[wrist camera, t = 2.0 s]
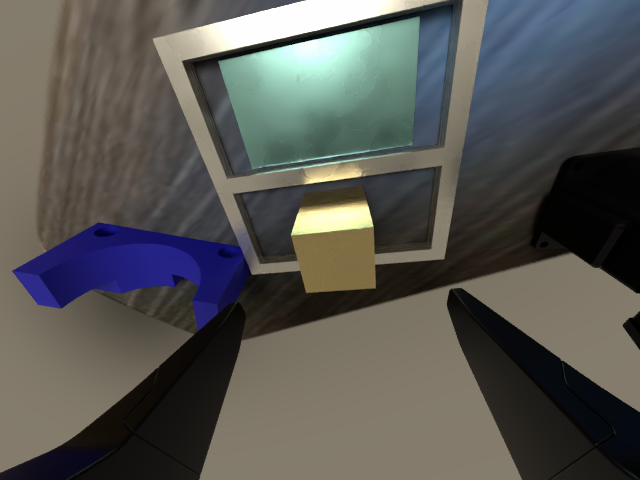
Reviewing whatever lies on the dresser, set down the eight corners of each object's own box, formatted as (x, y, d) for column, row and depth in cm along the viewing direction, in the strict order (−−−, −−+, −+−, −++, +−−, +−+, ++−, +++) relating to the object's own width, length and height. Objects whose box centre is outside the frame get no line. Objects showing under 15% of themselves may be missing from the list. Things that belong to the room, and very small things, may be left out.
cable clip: (118, 264, 21) (49, 318, 16) (100, 221, 18) (12, 271, 13) (249, 285, 21) (222, 345, 16) (248, 247, 19) (216, 304, 14)
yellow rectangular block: (362, 185, 15) (373, 226, 11) (365, 235, 17) (375, 288, 13) (304, 193, 16) (290, 235, 11) (314, 241, 18) (306, 292, 13)
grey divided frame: (482, -35, 10) (496, -47, 9) (439, 251, 18) (444, 259, 17) (165, 42, 12) (152, 39, 11) (255, 266, 20) (252, 274, 19)
